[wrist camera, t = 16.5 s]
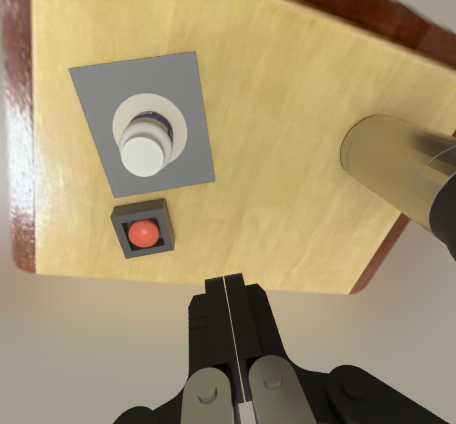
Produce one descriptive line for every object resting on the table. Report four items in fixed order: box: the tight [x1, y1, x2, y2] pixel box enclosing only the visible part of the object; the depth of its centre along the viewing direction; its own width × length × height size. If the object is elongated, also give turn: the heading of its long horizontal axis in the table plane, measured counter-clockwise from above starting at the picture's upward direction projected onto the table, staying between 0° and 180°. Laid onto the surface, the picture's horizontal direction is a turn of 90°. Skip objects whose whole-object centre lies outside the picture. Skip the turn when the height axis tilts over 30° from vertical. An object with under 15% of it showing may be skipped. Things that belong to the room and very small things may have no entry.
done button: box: [129, 218, 159, 247], centre depth 40 cm, size 4×4×2 cm
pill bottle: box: [119, 111, 173, 177], centre depth 32 cm, size 5×5×10 cm
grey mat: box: [69, 52, 215, 198], centre depth 36 cm, size 14×16×1 cm
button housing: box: [110, 199, 175, 259], centre depth 41 cm, size 7×7×3 cm
